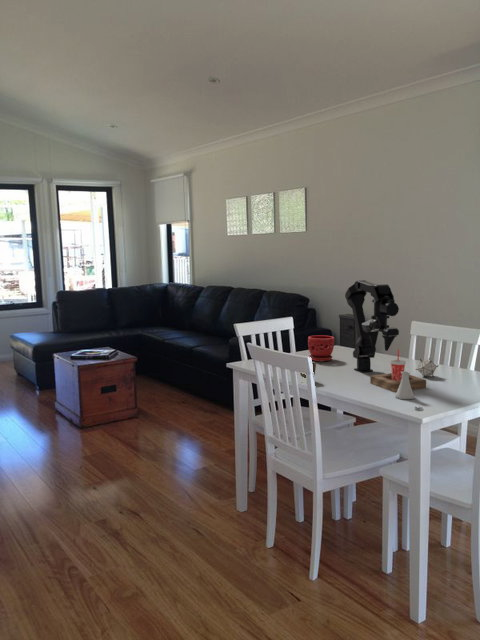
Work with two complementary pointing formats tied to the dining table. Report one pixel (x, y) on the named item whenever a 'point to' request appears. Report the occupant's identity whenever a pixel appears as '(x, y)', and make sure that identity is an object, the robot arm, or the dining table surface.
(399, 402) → the dining table surface
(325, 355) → the plant pot
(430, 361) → the spiky beige ball
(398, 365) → the beverage cup
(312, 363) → the cup
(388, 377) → the base board
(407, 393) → the flask
